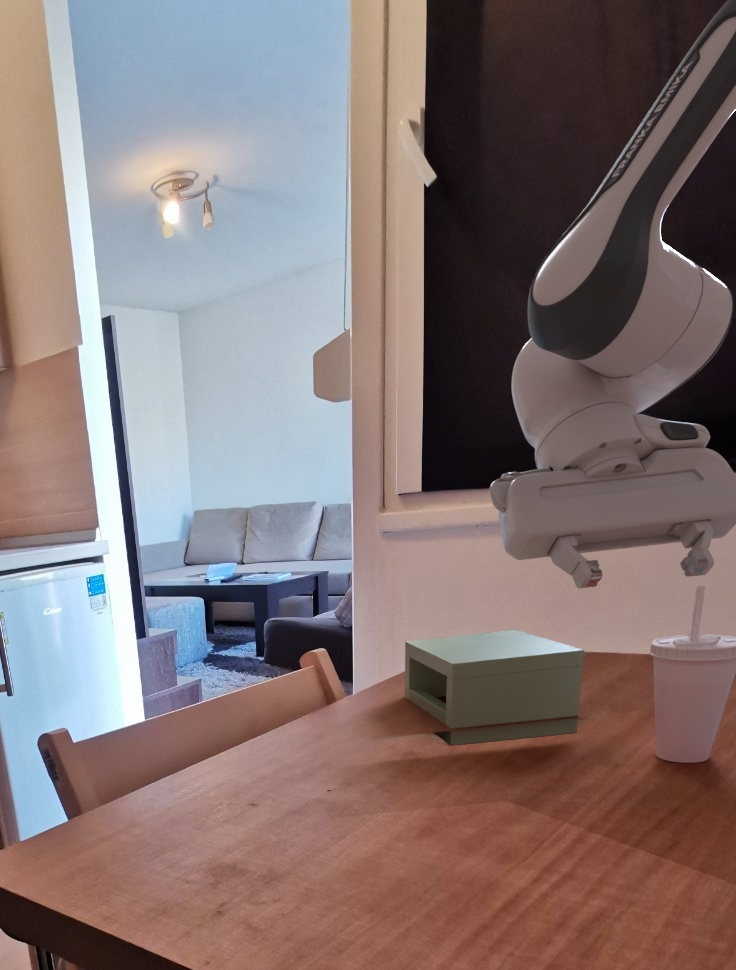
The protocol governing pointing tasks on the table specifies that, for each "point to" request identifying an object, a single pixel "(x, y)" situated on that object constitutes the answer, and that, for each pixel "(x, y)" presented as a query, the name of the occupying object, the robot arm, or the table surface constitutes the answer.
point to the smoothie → (691, 689)
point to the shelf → (495, 684)
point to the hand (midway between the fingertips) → (645, 577)
